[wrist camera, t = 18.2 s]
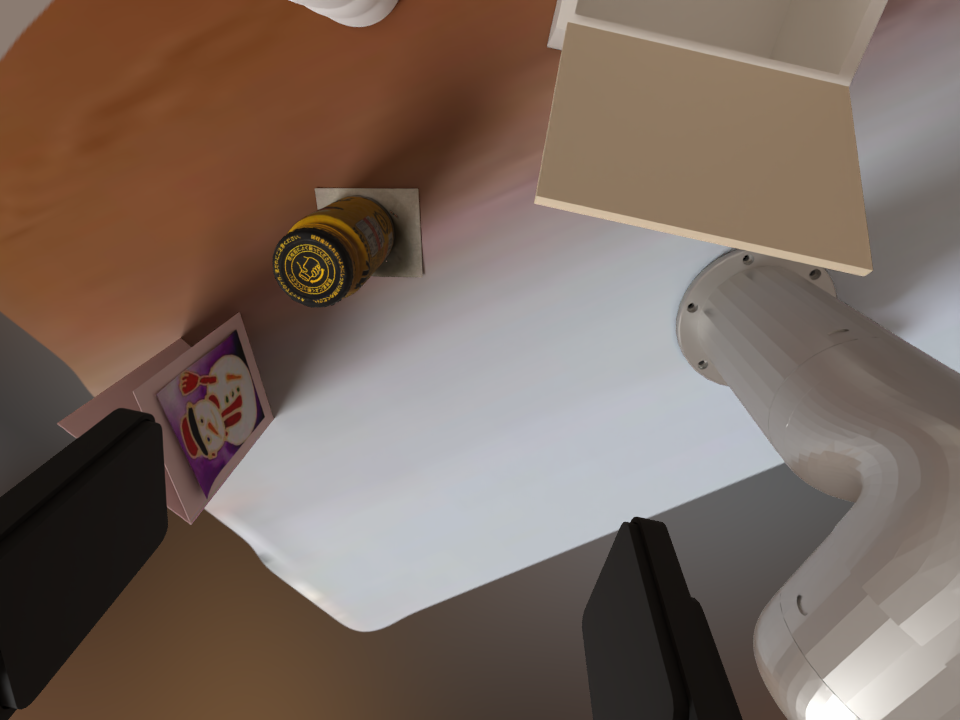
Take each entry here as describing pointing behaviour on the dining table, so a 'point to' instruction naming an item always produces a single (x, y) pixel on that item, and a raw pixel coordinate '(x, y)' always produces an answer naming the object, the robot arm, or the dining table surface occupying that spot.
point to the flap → (705, 150)
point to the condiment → (349, 244)
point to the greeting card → (193, 411)
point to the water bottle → (351, 10)
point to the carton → (741, 30)
